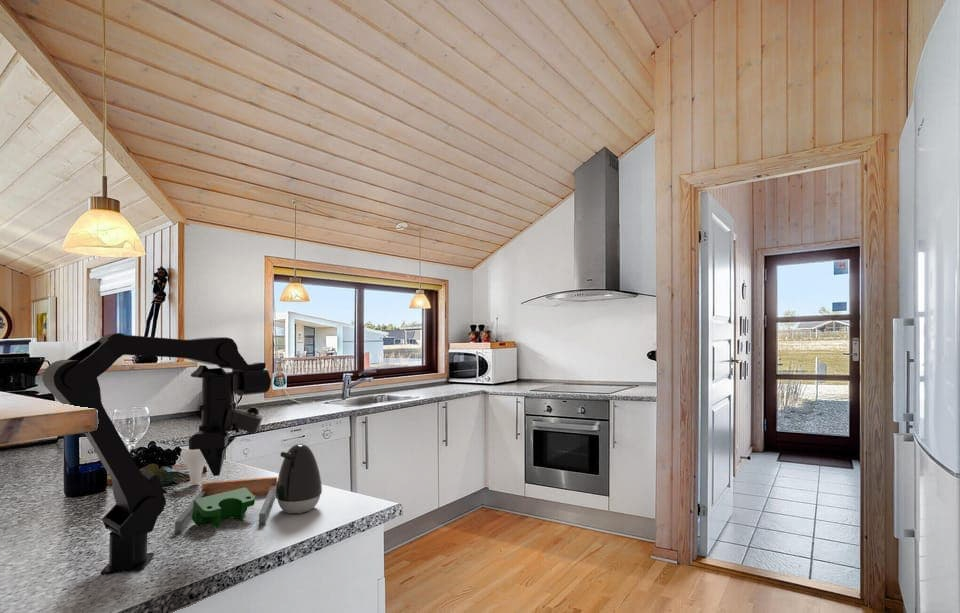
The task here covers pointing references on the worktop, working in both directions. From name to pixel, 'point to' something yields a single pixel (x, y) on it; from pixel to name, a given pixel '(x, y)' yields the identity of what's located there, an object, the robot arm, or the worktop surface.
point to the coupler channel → (211, 488)
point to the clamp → (222, 507)
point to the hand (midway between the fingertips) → (216, 475)
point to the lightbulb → (194, 464)
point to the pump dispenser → (298, 480)
